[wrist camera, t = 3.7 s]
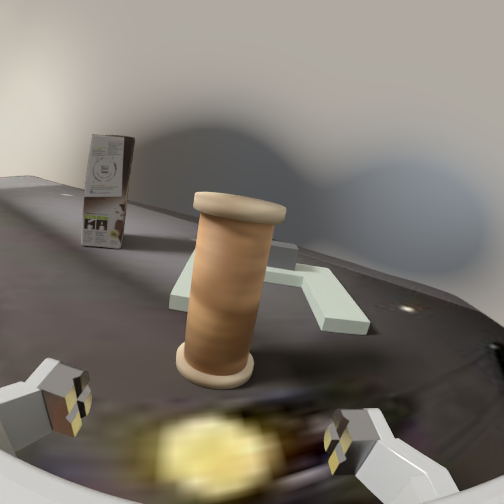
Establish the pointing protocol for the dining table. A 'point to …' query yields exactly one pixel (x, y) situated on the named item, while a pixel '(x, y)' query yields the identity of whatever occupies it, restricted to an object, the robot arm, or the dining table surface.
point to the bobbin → (226, 288)
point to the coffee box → (107, 190)
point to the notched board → (299, 275)
